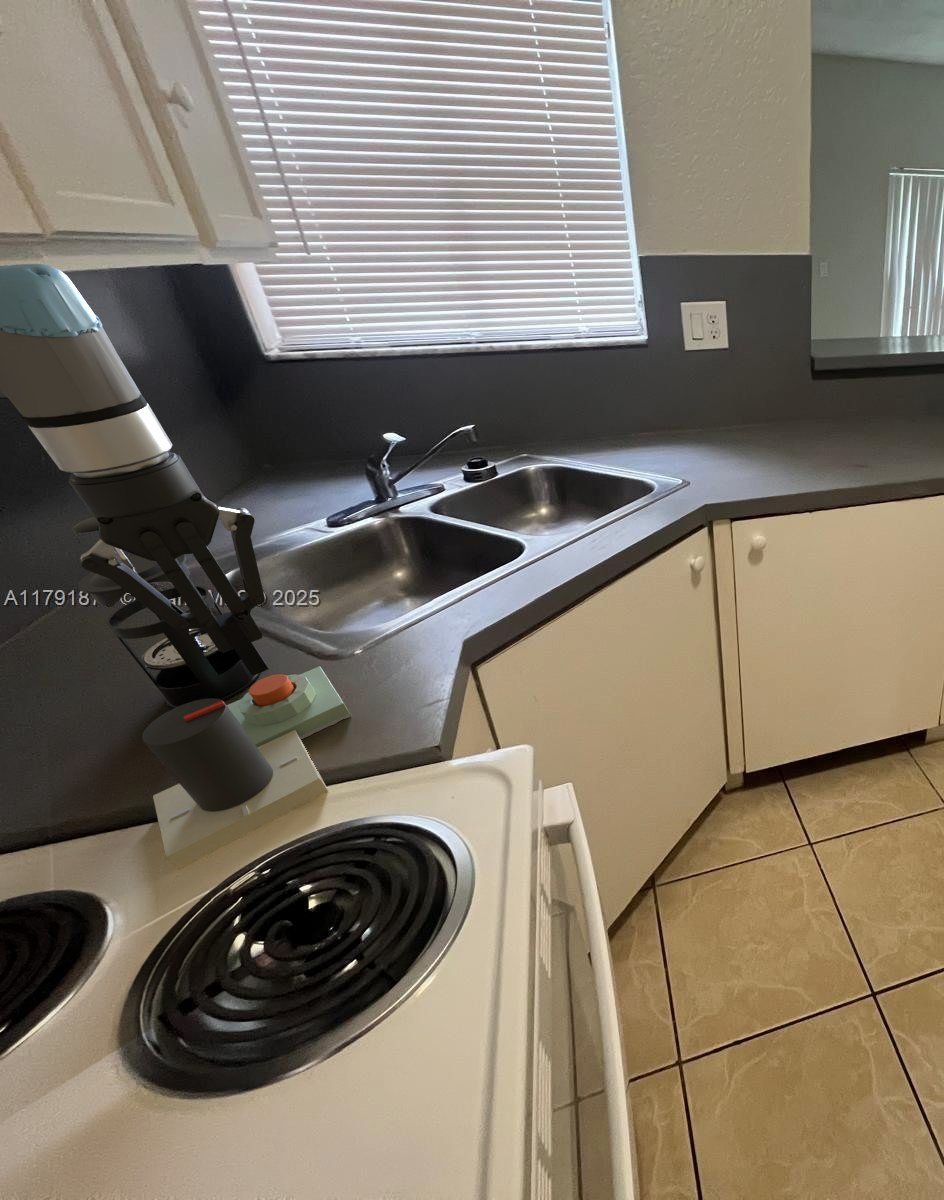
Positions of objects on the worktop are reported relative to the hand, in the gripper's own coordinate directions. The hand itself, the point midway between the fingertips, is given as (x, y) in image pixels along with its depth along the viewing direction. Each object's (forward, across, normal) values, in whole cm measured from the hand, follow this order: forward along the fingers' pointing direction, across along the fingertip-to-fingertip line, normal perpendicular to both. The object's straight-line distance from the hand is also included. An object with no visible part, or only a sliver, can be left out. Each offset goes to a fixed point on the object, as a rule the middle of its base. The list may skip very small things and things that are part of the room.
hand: (257, 667), depth 69 cm
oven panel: (+8, +6, +10) cm, 14 cm away
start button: (+4, 0, 0) cm, 4 cm away
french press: (+8, +5, -15) cm, 18 cm away
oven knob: (+6, +6, +10) cm, 13 cm away
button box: (+8, 0, 0) cm, 8 cm away
